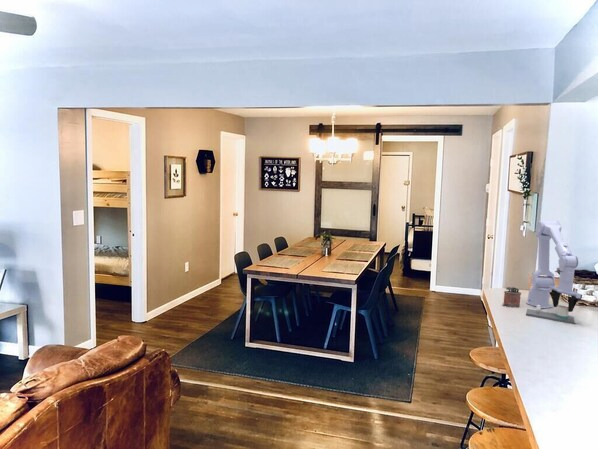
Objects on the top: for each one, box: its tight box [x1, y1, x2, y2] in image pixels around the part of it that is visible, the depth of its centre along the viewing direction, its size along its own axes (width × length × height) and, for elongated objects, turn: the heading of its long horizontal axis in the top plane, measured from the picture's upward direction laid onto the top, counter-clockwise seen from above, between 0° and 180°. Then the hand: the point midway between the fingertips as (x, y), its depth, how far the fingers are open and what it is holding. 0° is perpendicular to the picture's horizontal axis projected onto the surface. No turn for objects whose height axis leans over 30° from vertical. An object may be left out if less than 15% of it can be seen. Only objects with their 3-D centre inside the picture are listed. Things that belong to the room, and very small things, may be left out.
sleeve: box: [555, 304, 570, 319], centre depth 219 cm, size 5×5×5 cm
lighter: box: [502, 286, 522, 308], centre depth 237 cm, size 8×3×10 cm, turn 84°
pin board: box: [525, 305, 575, 324], centre depth 222 cm, size 20×9×5 cm, turn 60°
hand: (562, 309), depth 219 cm, fingers open, 7 cm apart
